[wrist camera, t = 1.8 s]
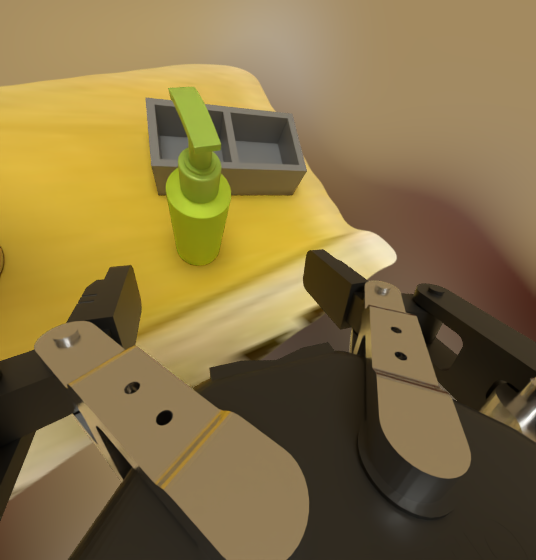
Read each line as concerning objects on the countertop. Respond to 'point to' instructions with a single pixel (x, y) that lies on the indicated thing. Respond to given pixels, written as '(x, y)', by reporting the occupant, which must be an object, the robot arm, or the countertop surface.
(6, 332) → the countertop surface
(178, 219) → the soap dispenser
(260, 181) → the caddy
